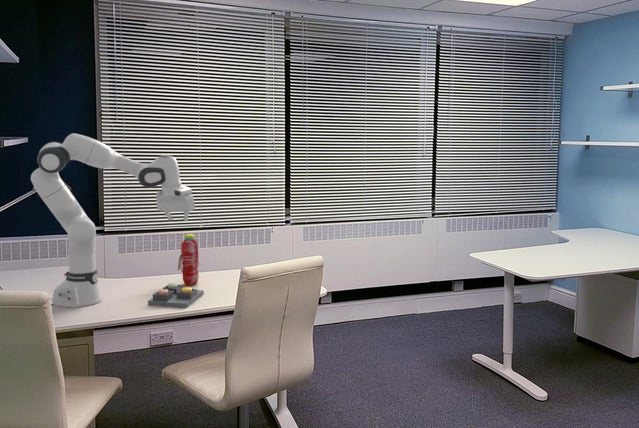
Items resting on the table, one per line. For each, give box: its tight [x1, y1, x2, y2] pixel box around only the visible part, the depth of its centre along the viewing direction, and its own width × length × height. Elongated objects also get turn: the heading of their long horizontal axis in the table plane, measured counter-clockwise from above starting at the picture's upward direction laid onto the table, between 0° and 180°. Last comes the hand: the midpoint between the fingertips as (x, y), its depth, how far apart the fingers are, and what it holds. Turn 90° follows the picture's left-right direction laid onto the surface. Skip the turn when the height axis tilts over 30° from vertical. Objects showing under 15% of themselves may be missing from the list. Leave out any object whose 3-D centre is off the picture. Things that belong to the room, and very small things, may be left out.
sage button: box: [167, 282, 179, 288], centre depth 273 cm, size 4×4×2 cm
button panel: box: [147, 284, 205, 309], centre depth 268 cm, size 18×20×4 cm
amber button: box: [182, 286, 193, 293], centre depth 266 cm, size 4×4×2 cm
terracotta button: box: [157, 288, 168, 295], centre depth 263 cm, size 4×4×2 cm
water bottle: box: [177, 233, 200, 286], centre depth 291 cm, size 12×8×25 cm, turn 72°
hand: (178, 220), depth 269 cm, fingers open, 8 cm apart
